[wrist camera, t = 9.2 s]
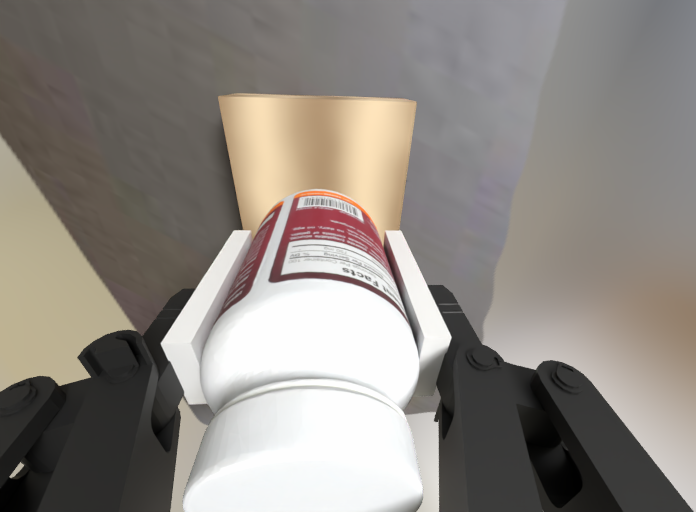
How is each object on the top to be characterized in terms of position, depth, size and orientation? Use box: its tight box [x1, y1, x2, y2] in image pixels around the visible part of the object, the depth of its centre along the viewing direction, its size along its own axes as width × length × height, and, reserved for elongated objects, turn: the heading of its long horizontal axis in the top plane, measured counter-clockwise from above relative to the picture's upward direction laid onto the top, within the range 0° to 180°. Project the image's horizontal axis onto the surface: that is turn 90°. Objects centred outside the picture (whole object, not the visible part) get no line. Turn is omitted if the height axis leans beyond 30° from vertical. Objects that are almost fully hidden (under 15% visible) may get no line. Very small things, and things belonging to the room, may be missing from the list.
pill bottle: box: [183, 189, 423, 512], centre depth 10 cm, size 6×6×11 cm
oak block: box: [218, 93, 417, 245], centre depth 22 cm, size 12×12×4 cm
